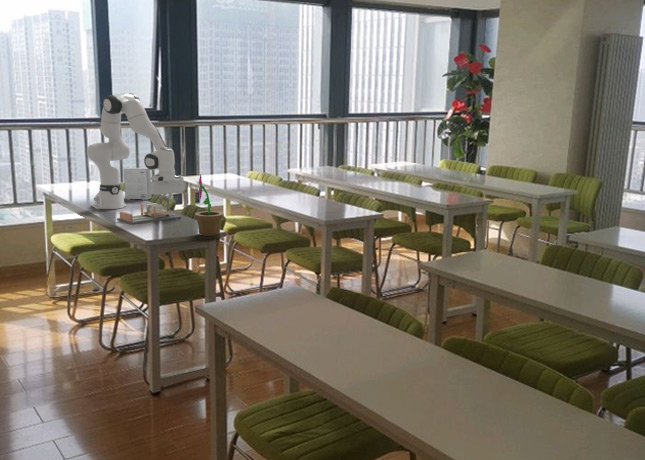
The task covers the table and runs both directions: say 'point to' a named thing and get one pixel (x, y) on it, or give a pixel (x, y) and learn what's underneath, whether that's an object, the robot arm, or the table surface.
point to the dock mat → (151, 220)
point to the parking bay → (130, 218)
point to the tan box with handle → (157, 208)
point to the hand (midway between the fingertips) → (167, 201)
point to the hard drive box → (137, 183)
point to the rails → (149, 217)
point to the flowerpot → (208, 217)
